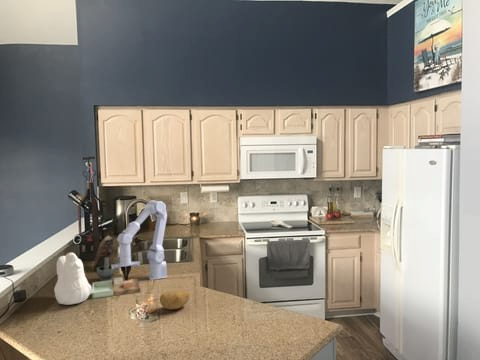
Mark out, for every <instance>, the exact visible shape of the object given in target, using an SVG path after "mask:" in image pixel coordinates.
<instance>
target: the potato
mask: <svg viewBox="0 0 480 360" xmlns="http://www.w3.org/2000/svg"><path fill="white" fill-rule="evenodd" d="M190 297H191V294H190V292H189V291H187V290H186V289H181V290H179V289H178V290H173V291H172V290H171V291H169V292H162V294H161V295H160V296H159V302H160V305H161V306H162V307H163V308H165V309H167V310H170V311H171V310H172V311H174V309H175V310H179V309H180V308H183V306H185V305H186V304H187V303H188V302H189V300H190Z"/></svg>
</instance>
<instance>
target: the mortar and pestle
mask: <svg viewBox="0 0 480 360" xmlns="http://www.w3.org/2000/svg"><path fill="white" fill-rule="evenodd" d="M104 260H105V261H104V266H102V267H99V268H97V271H96V274H97V275H96V276H98V278H100V282H101V281H108V280H112V281H113V277H114V274H115V271H116V268H114V269H112V266H109V257H105V258H104Z"/></svg>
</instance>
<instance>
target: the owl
mask: <svg viewBox="0 0 480 360" xmlns="http://www.w3.org/2000/svg"><path fill="white" fill-rule="evenodd" d="M114 248H115V247H114V238H113V237H111V236H110V235H109V234H108V235H107V236H105V237H104V238H103V239H102V240H101V242H100V243H99V246H98V247H97V252H96V255H95V258H94V263H93V267H92V268H93V270H97V268H99V267H102V266H104V261H105V260H104V258H105V257H109V266H111V265H112V264H115V258H116V256H115V251H114Z"/></svg>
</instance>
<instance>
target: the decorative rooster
mask: <svg viewBox="0 0 480 360" xmlns="http://www.w3.org/2000/svg"><path fill="white" fill-rule="evenodd" d="M84 269H85V268H84V264H83V261H82V259H80V258H79V257H78V256H77V255H76V253H74V252H72V251H71V252H68V253H66V255H61V256H59V257H58V259H57V261H56V275H57V280H56V283H55V286H54V289H53V290H54V295H55V296H54V297H55V299H56V301H57V303H58V304H60V305H66V306H67V305H68V306H69V305H70V306H71V305H75V304H80V303H81V302H84V301H86V300H87V299H88V298H89V297H90V295H92V285H91V284H90V283H89V280H88V279H87V277H86V274H85V270H84Z"/></svg>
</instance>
